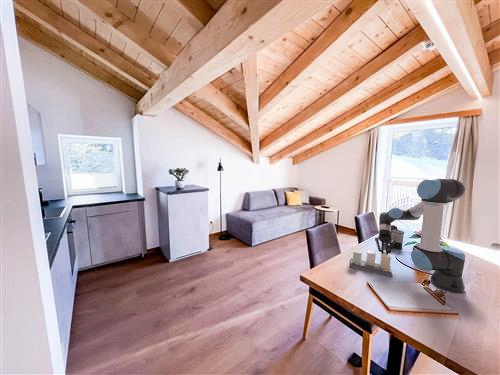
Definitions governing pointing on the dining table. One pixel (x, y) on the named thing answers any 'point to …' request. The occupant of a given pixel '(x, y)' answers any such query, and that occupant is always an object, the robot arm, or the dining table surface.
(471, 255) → the dining table surface
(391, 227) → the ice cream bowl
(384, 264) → the beige tall block
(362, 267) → the grey tray
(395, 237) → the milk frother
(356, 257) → the key sage
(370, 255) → the cream upright block
